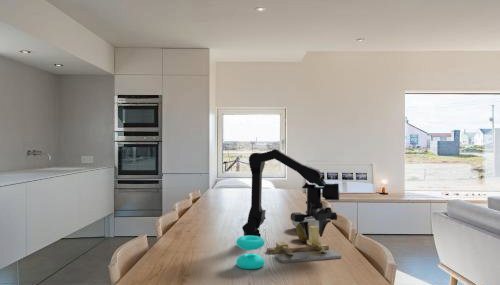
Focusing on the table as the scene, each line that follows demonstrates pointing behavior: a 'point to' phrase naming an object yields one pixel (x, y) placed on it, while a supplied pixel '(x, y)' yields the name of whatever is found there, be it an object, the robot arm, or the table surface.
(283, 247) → the rail
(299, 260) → the hole plate
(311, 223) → the cereal bowl
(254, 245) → the donuts
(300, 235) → the potato
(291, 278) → the table surface
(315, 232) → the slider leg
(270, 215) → the table surface
